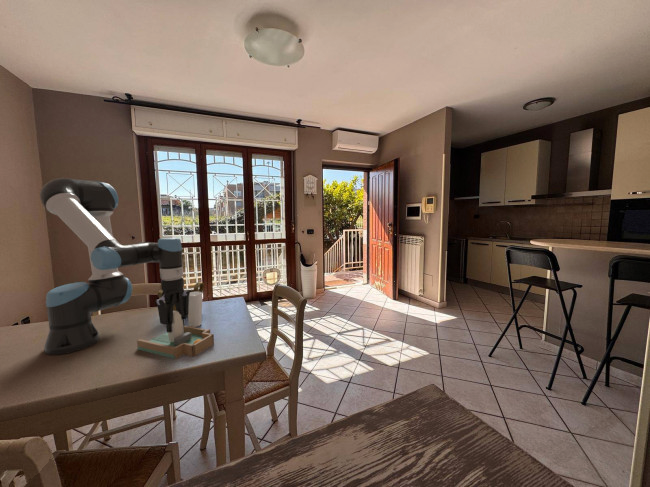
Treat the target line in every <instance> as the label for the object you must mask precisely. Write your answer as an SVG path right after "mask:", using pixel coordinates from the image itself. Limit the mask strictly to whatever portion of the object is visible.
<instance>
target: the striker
mask: <svg viewBox="0 0 650 487" xmlns="http://www.w3.org/2000/svg"><path fill="white" fill-rule="evenodd" d="M172 323H174V324H175V338H174V340H170V341H171V342H174V345H180V344H182V343H184V342H186V341H188V340H190V339H192V338H191V333H190V332H186V333H184V334H182V321H181V314H179V312H178V311H173V321H172Z"/></svg>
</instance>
